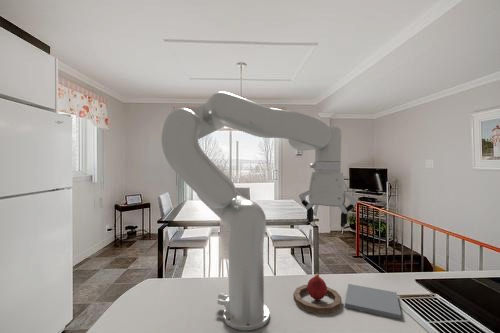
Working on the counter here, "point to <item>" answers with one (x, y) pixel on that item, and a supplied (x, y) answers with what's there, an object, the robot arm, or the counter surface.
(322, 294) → the onion
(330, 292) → the ring holder
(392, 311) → the board
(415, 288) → the counter surface
